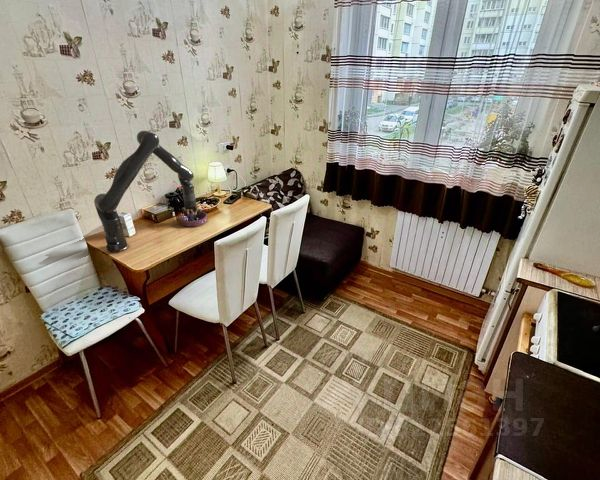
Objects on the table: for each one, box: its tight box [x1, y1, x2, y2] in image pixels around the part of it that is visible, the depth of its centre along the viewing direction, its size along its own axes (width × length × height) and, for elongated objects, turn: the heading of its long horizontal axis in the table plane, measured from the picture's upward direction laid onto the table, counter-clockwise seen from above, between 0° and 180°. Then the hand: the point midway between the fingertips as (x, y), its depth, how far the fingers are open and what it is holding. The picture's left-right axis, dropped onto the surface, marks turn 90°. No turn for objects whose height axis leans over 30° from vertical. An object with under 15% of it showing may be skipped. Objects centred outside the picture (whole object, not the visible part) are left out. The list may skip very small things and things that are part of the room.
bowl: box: [180, 210, 208, 227], centre depth 214 cm, size 17×17×4 cm
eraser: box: [188, 215, 198, 221], centre depth 212 cm, size 8×4×4 cm, turn 173°
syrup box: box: [118, 211, 137, 238], centre depth 193 cm, size 6×6×14 cm
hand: (193, 221), depth 213 cm, fingers closed on eraser, 3 cm apart
